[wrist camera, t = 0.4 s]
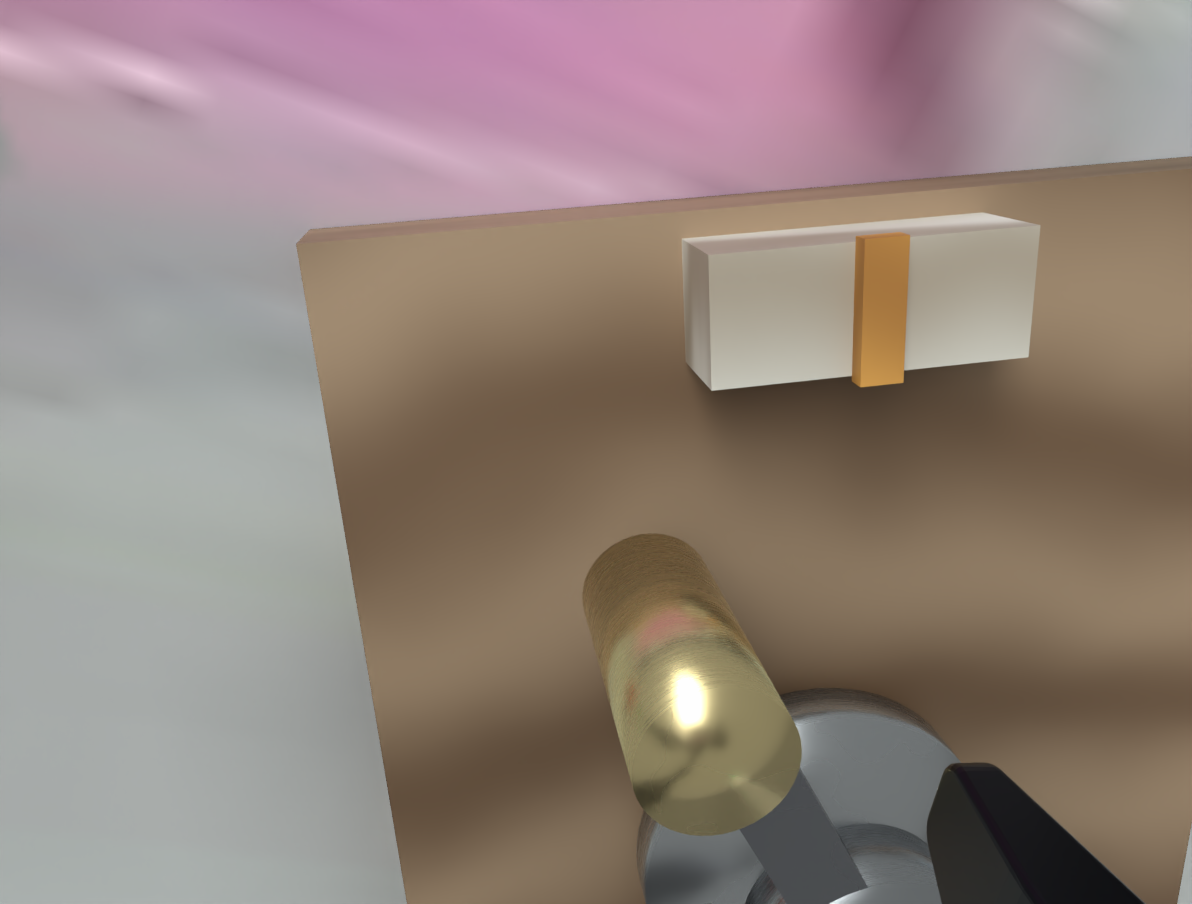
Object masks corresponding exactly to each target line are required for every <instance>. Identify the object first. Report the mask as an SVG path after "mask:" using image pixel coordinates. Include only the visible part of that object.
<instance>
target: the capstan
mask: <svg viewBox="0 0 1192 904" xmlns="http://www.w3.org/2000/svg"><path fill="white" fill-rule="evenodd" d="M582 603H583V609H584V613H585V617H586V620H587V624H588V627H589V631H590V635H591V638H592V642H593V646H594V649H595V653H596V656H597V660H598V664H599V667H600V671H601V675H602V678H603V682H604V685H605V689H606V693H607V696H608V700H609V704H610V707H611V711H612V714H613V718H614V722H615V725H616V729H617V733H618V736H619V740H620V743H621V747H622V751H623V754H624V758H625V762H626V765H627V769H628V772H629V776H630V780H631V783H632V787H633V790H634V793H635V796H636V798H637V800H638V802H639V804H640V805H641V807H642V808H643V810H644V811H643V815H642V818H641V822H640V826H639V829H638V837H637V845H636V855H637V869H638V873H639V878H640V883H641V887H642V891H643V895H644V899H645V903H646V904H942V903H941V898H940V894H939V890H938V886H937V881H936V877H935V873H934V869H933V864H932V860H931V856H930V852H929V847H928V842H927V819H928V815H929V812H930V809H931V806H932V804H933V801H934V798H935V795H936V792H937V789H938V786H939V783H940V780H941V777H942V774H943V772H944V770H945V768H946V767H948V766H949V765H950V764H953V763H961V762H960V760H959V759H958V758H957V757H956V755H955V754H954V753H953V751H952V750H951V749H950V748H949V746H948V745H947V744H946V742H945V741H944V740H943V739H942V737H941V736H940V735H939V734H938V733H937V732H936V730H935V729H934V728H933V727H932V726H931V725H930V724H929V723H928V722H927V721H926V720H924V719H923V718H922V717H921V716H920V715H918V714H917V713H916V712H914V711H913V710H911V709H909V708H908V707H906V706H904V705H902V704H901V703H899V702H896V701H894V700H891V699H889V698H886V697H884V696H881V695H877V694H873V693H869V692H865V691H861V690H853V689H844V688H816V689H808V690H800V691H794V692H790V693H785V694H781V695H779V694H778V692H777V691H776V689H775V687H774V685H773V683H772V682H771V680H770V678H769V676H768V675H767V673H766V671H765V669H764V667H763V666H762V664H761V662H760V660H759V659H758V657H757V655H756V653H755V651H754V650H753V648H752V646H751V644H750V642H749V641H748V639H747V637H746V635H745V634H744V632H743V630H742V628H741V626H740V625H739V623H738V621H737V619H736V618H735V616H734V614H733V612H732V610H731V609H730V607H729V605H728V603H727V601H726V600H725V598H724V596H723V594H722V593H721V591H720V589H719V587H718V585H717V584H716V582H715V580H714V578H713V576H712V575H711V573H710V571H709V569H708V568H707V566H706V564H705V562H704V561H703V559H702V558H701V556H700V555H699V554H698V552H697V551H696V550H695V549H694V548H692V547H691V546H690V545H689V544H687V543H686V542H684V541H682V540H680V539H678V538H676V537H673V536H669V535H665V534H657V533H648V534H640V535H635V536H631V537H628V538H626V539H623V540H621V541H619V542H617V543H615V544H614V545H612V546H611V547H609V548H608V549H607V550H605V551H604V552H603V553H602V554H601V555H600V556H599V557H598V558H597V559H596V561H595V562H594V563H593V565H592V566H591V568H590V570H589V572H588V573H587V576H586V579H585V581H584V586H583V592H582Z"/></svg>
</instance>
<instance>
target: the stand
mask: <svg viewBox="0 0 1192 904" xmlns="http://www.w3.org/2000/svg"><path fill="white" fill-rule="evenodd" d="M296 246H297V252H298V258H299V264H300V269H301V275H302V281H303V287H304V293H305V299H306V305H307V311H308V317H309V323H310V329H311V335H312V341H313V347H314V353H315V359H316V365H317V371H318V377H319V383H320V388H321V394H322V400H323V406H324V412H325V418H326V424H327V430H328V436H329V442H330V448H331V454H332V460H333V466H334V472H335V478H336V484H337V490H338V496H339V501H340V507H341V513H342V519H343V525H344V531H345V537H346V543H347V549H348V555H349V561H350V567H351V573H352V579H353V585H354V591H355V597H356V603H357V609H358V615H359V620H360V626H361V632H362V638H363V644H364V650H365V656H366V662H367V668H368V674H369V680H370V686H371V692H372V698H373V704H374V710H375V716H376V722H377V728H378V733H379V739H380V745H381V751H382V757H383V763H384V769H385V775H386V781H387V787H388V793H389V799H390V805H391V811H392V817H393V823H394V829H395V835H396V841H397V847H398V852H399V858H400V864H401V870H402V876H403V882H404V888H405V894H406V900H407V904H646V903H645V899H644V895H643V891H642V887H641V883H640V878H639V873H638V869H637V855H636V845H637V837H638V829H639V826H640V822H641V818H642V815H643V811H644V810H643V808H642V807H641V805H640V804H639V802H638V800H637V798H636V796H635V793H634V790H633V787H632V783H631V780H630V776H629V772H628V769H627V765H626V762H625V758H624V754H623V751H622V747H621V743H620V740H619V736H618V733H617V729H616V725H615V722H614V718H613V714H612V711H611V707H610V704H609V700H608V696H607V693H606V689H605V685H604V682H603V678H602V675H601V671H600V667H599V664H598V660H597V656H596V653H595V649H594V646H593V642H592V638H591V635H590V631H589V627H588V624H587V620H586V617H585V613H584V609H583V603H582V592H583V586H584V581H585V579H586V576H587V573H588V572H589V570H590V568H591V566H592V565H593V563H594V562H595V561H596V559H597V558H598V557H599V556H600V555H601V554H602V553H603V552H604V551H605V550H607V549H608V548H609V547H611V546H612V545H614V544H615V543H617V542H619V541H621V540H623V539H626V538H628V537H631V536H635V535H640V534H648V533H657V534H665V535H669V536H673V537H676V538H678V539H680V540H682V541H684V542H686V543H687V544H689V545H690V546H691V547H692V548H694V549H695V550H696V551H697V552H698V554H699V555H700V556H701V558H702V559H703V561H704V562H705V564H706V566H707V568H708V569H709V571H710V573H711V575H712V576H713V578H714V580H715V582H716V584H717V585H718V587H719V589H720V591H721V593H722V594H723V596H724V598H725V600H726V601H727V603H728V605H729V607H730V609H731V610H732V612H733V614H734V616H735V618H736V619H737V621H738V623H739V625H740V626H741V628H742V630H743V632H744V634H745V635H746V637H747V639H748V641H749V642H750V644H751V646H752V648H753V650H754V651H755V653H756V655H757V657H758V659H759V660H760V662H761V664H762V666H763V667H764V669H765V671H766V673H767V675H768V676H769V678H770V680H771V682H772V683H773V685H774V687H775V689H776V691H777V692H778V694H779V695H781V694H785V693H790V692H794V691H800V690H808V689H816V688H844V689H853V690H861V691H865V692H869V693H873V694H877V695H881V696H884V697H886V698H889V699H891V700H894V701H896V702H899V703H901V704H902V705H904V706H906V707H908V708H909V709H911V710H913V711H914V712H916V713H917V714H918V715H920V716H921V717H922V718H923V719H924V720H926V721H927V722H928V723H929V724H930V725H931V726H932V727H933V728H934V729H935V730H936V732H937V733H938V734H939V735H940V736H941V737H942V739H943V740H944V741H945V742H946V744H947V745H948V746H949V748H950V749H951V750H952V751H953V753H954V754H955V755H956V757H957V758H958V759H959V760H960V762H961V763H974V762H985V763H990V764H993V765H995V766H996V767H998V768H1000V769H1001V770H1002V771H1003V772H1004V773H1005V774H1006V775H1008V776H1009V777H1010V778H1011V779H1012V780H1013V781H1014V782H1015V783H1016V784H1017V785H1018V786H1019V787H1020V788H1022V789H1023V790H1024V791H1025V792H1026V793H1027V794H1028V795H1029V796H1030V797H1031V798H1032V799H1033V800H1034V801H1036V802H1037V803H1038V804H1039V805H1040V806H1041V807H1042V808H1043V809H1044V810H1045V811H1046V812H1047V813H1048V814H1050V815H1051V816H1052V817H1053V818H1054V819H1055V820H1056V821H1057V822H1058V823H1059V824H1060V825H1061V826H1063V827H1064V828H1065V829H1066V830H1067V831H1068V832H1069V833H1070V834H1071V835H1072V836H1073V837H1074V838H1075V839H1077V840H1078V841H1079V842H1080V843H1081V844H1082V845H1083V846H1084V847H1085V848H1086V849H1087V850H1088V851H1089V852H1091V853H1092V854H1093V855H1094V856H1095V857H1096V858H1097V859H1098V860H1099V861H1100V862H1101V863H1102V864H1103V865H1105V866H1106V867H1107V868H1108V869H1109V870H1110V871H1111V872H1112V873H1113V874H1114V875H1115V876H1116V877H1118V878H1119V879H1120V880H1121V881H1122V882H1123V883H1124V884H1125V885H1126V886H1127V887H1128V888H1129V889H1130V890H1132V891H1133V892H1134V893H1135V894H1136V895H1137V896H1138V897H1139V898H1140V899H1141V900H1142V901H1143V902H1144V903H1146V904H1177V901H1178V895H1179V890H1180V884H1181V879H1182V873H1183V868H1184V862H1185V857H1186V851H1187V846H1188V840H1189V835H1190V829H1191V824H1192V157H1180V158H1168V159H1156V160H1144V161H1132V162H1120V163H1108V164H1096V165H1083V166H1071V167H1059V168H1047V169H1035V170H1023V171H1011V172H999V173H987V174H975V175H963V176H951V177H938V178H926V179H914V180H902V181H890V182H878V183H866V184H854V185H842V186H830V187H818V188H806V189H793V190H781V191H769V192H757V193H745V194H733V195H721V196H709V197H697V198H685V199H673V200H660V201H648V202H636V203H624V204H612V205H600V206H588V207H576V208H564V209H552V210H540V211H528V212H515V213H503V214H491V215H479V216H467V217H455V218H443V219H431V220H419V221H407V222H395V223H383V224H370V225H358V226H346V227H334V228H322V229H310V230H309V231H308V232H307V233H306V234H305V235H304V236H303V237H302V238H301V239H300V241H299V242H298V243H297V244H296Z"/></svg>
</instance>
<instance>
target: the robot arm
mask: <svg viewBox="0 0 1192 904" xmlns="http://www.w3.org/2000/svg"><path fill="white" fill-rule="evenodd" d="M927 842H928V847H929V852H930V856H931V860H932V864H933V869H934V873H935V877H936V881H937V886H938V890H939V894H940V898H941V903H942V904H1146V903H1144V902H1143V901H1142V900H1141V899H1140V898H1139V897H1138V896H1137V895H1136V894H1135V893H1134V892H1133V891H1132V890H1130V889H1129V888H1128V887H1127V886H1126V885H1125V884H1124V883H1123V882H1122V881H1121V880H1120V879H1119V878H1118V877H1116V876H1115V875H1114V874H1113V873H1112V872H1111V871H1110V870H1109V869H1108V868H1107V867H1106V866H1105V865H1103V864H1102V863H1101V862H1100V861H1099V860H1098V859H1097V858H1096V857H1095V856H1094V855H1093V854H1092V853H1091V852H1089V851H1088V850H1087V849H1086V848H1085V847H1084V846H1083V845H1082V844H1081V843H1080V842H1079V841H1078V840H1077V839H1075V838H1074V837H1073V836H1072V835H1071V834H1070V833H1069V832H1068V831H1067V830H1066V829H1065V828H1064V827H1063V826H1061V825H1060V824H1059V823H1058V822H1057V821H1056V820H1055V819H1054V818H1053V817H1052V816H1051V815H1050V814H1048V813H1047V812H1046V811H1045V810H1044V809H1043V808H1042V807H1041V806H1040V805H1039V804H1038V803H1037V802H1036V801H1034V800H1033V799H1032V798H1031V797H1030V796H1029V795H1028V794H1027V793H1026V792H1025V791H1024V790H1023V789H1022V788H1020V787H1019V786H1018V785H1017V784H1016V783H1015V782H1014V781H1013V780H1012V779H1011V778H1010V777H1009V776H1008V775H1006V774H1005V773H1004V772H1003V771H1002V770H1001V769H1000V768H998V767H996V766H995V765H993V764H990V763H985V762H974V763H953V764H950V765H949V766H948V767H946V768H945V770H944V772H943V774H942V777H941V780H940V783H939V786H938V789H937V792H936V795H935V798H934V801H933V804H932V806H931V809H930V812H929V815H928V819H927Z"/></svg>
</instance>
